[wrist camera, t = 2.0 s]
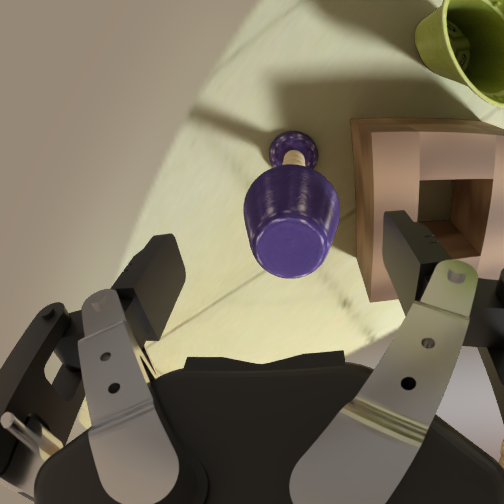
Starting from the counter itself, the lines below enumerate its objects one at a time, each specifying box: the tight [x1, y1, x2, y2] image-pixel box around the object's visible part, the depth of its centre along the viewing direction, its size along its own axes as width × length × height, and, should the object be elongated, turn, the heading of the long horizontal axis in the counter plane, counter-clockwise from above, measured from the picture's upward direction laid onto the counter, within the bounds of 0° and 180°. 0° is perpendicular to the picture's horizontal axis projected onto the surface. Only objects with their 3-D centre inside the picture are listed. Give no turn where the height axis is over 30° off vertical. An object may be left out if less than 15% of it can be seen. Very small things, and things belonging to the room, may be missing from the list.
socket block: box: [350, 118, 504, 302], centre depth 23 cm, size 14×14×7 cm
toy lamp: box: [244, 131, 340, 278], centre depth 19 cm, size 5×5×17 cm
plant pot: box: [415, 0, 504, 108], centre depth 15 cm, size 9×9×9 cm
